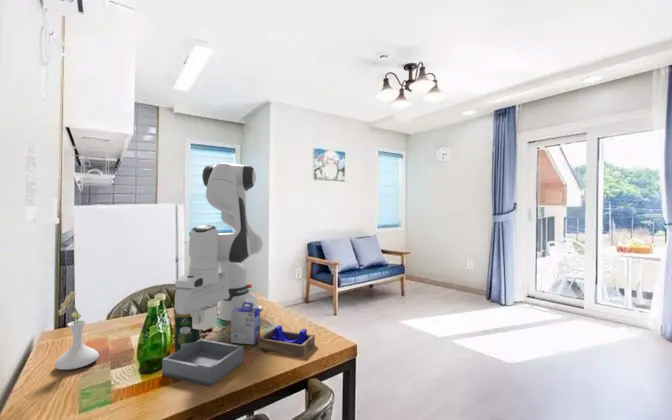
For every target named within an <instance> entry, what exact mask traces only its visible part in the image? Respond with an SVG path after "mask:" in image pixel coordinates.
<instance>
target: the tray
mask: <svg viewBox="0 0 672 420" xmlns="http://www.w3.org/2000/svg"><path fill="white" fill-rule="evenodd" d="M244 348H245V347H244V346H242V345H238V344H232V343H226V342H220V341H215V340H208V339H202V338H200V339H199V340H197V341H196V342H194V343H192V344H190V345H188V346H186V347H184V348H182V349H180V350H179V351H177V352H175V351H174V352H173V353H171V354H170V355H167V356H166V357H164V358H161V359H162V361H161V363H162V364H161V365H162V366H161V368H162V371H161V372H162V376H163V377H168V378H172V379H175V380H176V379H177V380H181V381H185V382H189V383H194V384H198V385H203V386H206V387H211V386H213V385H214V384H215V383H217V382H218V381H219V380H221V379H222V378H224V376H226V375H227V374H229V373H230V372H232V371H233V370H234V369H235V368H237V367H238V366H240V365H241V364H242V363H244V362H245V361H244V355H245V354H244V350H245V349H244Z"/></svg>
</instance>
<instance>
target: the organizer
mask: <svg viewBox="0 0 672 420" xmlns="http://www.w3.org/2000/svg"><path fill="white" fill-rule="evenodd" d="M283 332H284V334H285V335H286V336H287V337H288V338H290V339H297V338H298V336H299V332H295V331H288V330H283ZM273 336H274V328H272V329H270V330H269V331H268V332H266V333H264V334H263V335H262V336H260V338H259V339H258V342H257V349H260V350H264V351H270V352H276V353H282V354H288V355H292V356H299V357H304V356H305V355H307V353H308V352H309V351H310V350H311V349H312V348H313V347H314V346H315V336H316V335H314V334H308V333H307V340H306V341H305V342H304V343H303V344H302V345H300V344H294V343H288V342H282V341H276V340H272V337H273Z"/></svg>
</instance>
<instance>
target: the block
mask: <svg viewBox="0 0 672 420" xmlns="http://www.w3.org/2000/svg"><path fill="white" fill-rule="evenodd" d="M197 315H198V317H201V322H200V323H198V324H193V318H192V328H193V329H199V331H207V330H208V329H211V328H213V327H215V326H217V308H216V306H211V305H209V306H206V307H204V308H201V309H199V310H198V313H197Z"/></svg>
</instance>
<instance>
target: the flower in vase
mask: <svg viewBox="0 0 672 420" xmlns="http://www.w3.org/2000/svg"><path fill="white" fill-rule="evenodd" d="M75 299H76V291H75V290H73V291H72V290H71V291H70V293H69V294H68V295H67V294H66V296H65V298H64V302H62V303H61V304H60V307H61V308H59V310H58V311H57V314H58V316H63V315H64V314H65V313H66V312H67V311H68V310H69V308H70V307H71V306H72V309H74V311H72V313H71V317H72V319H74V320H73V321H70V322H68V323H67V326H68V327H69V328H70V330H71V333H72V345H71V347H70V348H68V349H67V350H66V351H65V352H63V354H62V355H61V356H59V357H58V358H57V360H55V362H54V367H55V368H56V369H57V370H61V371H62V370H66V371H67V370H75V369H79V368H83V367H85V366H88V365H91V364H92V363H93V362H95V361H97V360H98V359H99V357H100V354H99V351H98V350H96V349H94V348H92V347H90V346H87V345H85V344H84V343H83V340H82V338H83V337H82V335H83V334H82V333H83V329H84V326H85V325H86V323H88V322H87V319H86V320H85V319H81V318H82V315H81V314H80V313H79V312H78V310H77V308H76V306H75V305H74V304H73V302H74V300H75Z"/></svg>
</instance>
